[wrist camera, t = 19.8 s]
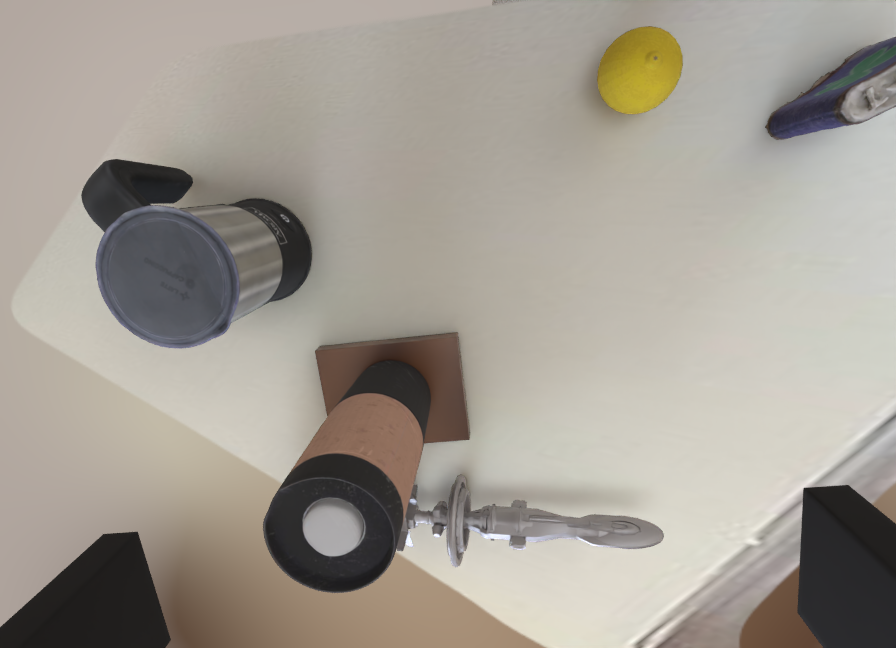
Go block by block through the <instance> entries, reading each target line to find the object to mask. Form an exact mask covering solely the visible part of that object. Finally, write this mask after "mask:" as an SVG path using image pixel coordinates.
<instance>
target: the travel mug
mask: <svg viewBox="0 0 896 648" xmlns="http://www.w3.org/2000/svg"><path fill="white" fill-rule="evenodd" d="M430 405H431V393H430V389H429V386H428V383H427V381H426V380H425V378H424V377H423V375H422V374H421V373H420V372H419V371H418V370H417V369H415V368H414V367H412V366H411V365H409V364H407V363H404V362H401V361H396V360H387V361H381V362H378V363H375V364H373V365H371V366H370V367H368V368H367V369H366V370H365V371H364V372H363V373H362V374H361V375H360V376H359V377H358V378H357V380H356V381H355V382H354V383H353V385H352V386H351V387H350V388H349V390H348V391H347V392H346V393H345V395H344V396H343V397H342V398H341V400H340V401H339V402H338V403H337V405H336V406H335V407H334V409H333V410H332V411H331V412H330V414H329V415H328V417H327V418H326V420H325V421H324V423H323V424H322V426H321V427H320V429H319V430H318V432H317V433H316V435H315V436H314V438H313V439H312V441H311V442H310V444H309V445H308V447H307V448H306V450H305V451H304V452H303V454H302V455H301V457H300V458H299V460H298V461H297V463H296V464H295V466H294V467H293V469H292V470H291V472H290V473H289V475H288V476H287V478H286V479H285V481H284V482H283V484H282V485H281V487H280V488H279V490H278V491H277V493H276V494H275V496H274V498H273V500H272V502H271V505H270V507H269V510H268V512H267V514H266V516H265V519H264V522H263V531H264V538H265V541H266V545H267V547H268V550H269V552H270V554H271V556H272V558H273V559H274V561H275V562H276V563H277V565H278V566H279V567H280V568H281V569H282V570H283V571H284V572H285V573H286V574H287V575H288V576H289V577H291V578H292V579H294V580H295V581H297V582H299V583H300V584H302V585H304V586H307V587H309V588H312V589H315V590H318V591H323V592H331V593H344V592H351V591H355V590H358V589H361V588H363V587H366V586H368V585H369V584H371V583H373V582H374V581H376V580H377V579H378V578H379V577H380V576H381V575H382V574H383V573H384V572H385V571H386V570H387V568H388V567H389V565H390V563H391V561H392V559H393V557H394V554H395V551H396V548H397V545H398V541H399V537H400V533H401V530H402V526H403V522H404V518H405V515H406V511H407V507H408V503H409V500H410V496H411V492H412V488H413V484H414V481H415V477H416V473H417V469H418V466H419V462H420V458H421V454H422V450H423V445H424V439H425V433H426V428H427V422H428V417H429V411H430Z"/></svg>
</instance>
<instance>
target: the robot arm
mask: <svg viewBox="0 0 896 648" xmlns="http://www.w3.org/2000/svg"><path fill="white" fill-rule="evenodd" d="M798 614H799V615H800V617H801V618H802V619H803V621H804V622H805V623H806V625H807V626H808V627H809V629H810V630H811V631H812V633H813V634H814V636H815V637H816V638H817V639H818V641H819V642H820V644H821V645H822V646H823V648H896V524H895V523H894V522H893V521H892V520H890V519H889V518H888V517H887V516H885V515H884V514H883V513H882V512H880V511H879V510H878V509H877V508H875V507H874V506H873V505H872V504H871V503H869V502H868V501H867V500H866V499H865V498H863V497H862V496H861V495H860V494H858V493H857V492H856V491H855V490H853V489H852V488H851V487H850V486H849V485H842V486H827V487H812V488H804V490H803V511H802V531H801V552H800V572H799V594H798ZM170 640H171V639H170V636H169V633H168V630H167V626H166V623H165V620H164V616H163V613H162V610H161V606H160V604H159V600H158V597H157V593H156V591H155V587H154V584H153V580H152V577H151V574H150V571H149V567H148V564H147V561H146V558H145V554H144V551H143V548H142V545H141V541H140V538H139V535H138V532H129V533H113V534H103V535H102V536H101V537H100V538H99V539H98V540H97V541H95V542H94V543H93V544H92V545H91V546H90V547H89V548H88V549H87V550H86V551H84V552H83V553H82V554H81V555H80V556H79V557H78V558H77V559H76V560H74V561H73V562H72V563H71V564H70V565H69V566H68V567H67V568H66V569H64V571H62V572H61V573H60V574H59V575H58V576H57V577H56V578H55V579H53V580H52V581H51V582H50V583H49V584H48V585H47V586H46V587H44V588H43V589H42V590H41V591H40V592H39V593H38V594H37V595H36V596H34V598H32V599H31V600H30V601H29V602H28V603H27V604H26V605H25V606H23V607H22V609H20V610H19V611H18V612H17V613H16V614H15V615H13V616H12V617H11V618H10V619H9V620H8V621H7V622H6V623H5V624H3V625H2V626H1V627H0V648H165V647H166V646H167V645H168V643H169V641H170Z"/></svg>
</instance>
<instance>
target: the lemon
mask: <svg viewBox="0 0 896 648" xmlns="http://www.w3.org/2000/svg"><path fill="white" fill-rule="evenodd" d="M682 66H683V62H682V52H681V49H680V46H679V44H678V43H677V41H676V39H675V38H674V37H673V36H672V35H671V34H670V33H669V32H667V31H665V30H663V29H661V28H656V27H651V26H649V27H639V28H636V29H633V30H630V31H628V32H626V33H624V34H623V35H621V36H620V37H619V38H617V39H616V40H615V41H614V42H613V43H612V44H611V45H610V46H609V47H608V49H607V50H606V52H605V54H604V55H603V57H602V59H601V62H600V65H599V69H598V77H597V82H598V88H599V92H600V94H601V96H602V98H603V100H604V101H605V102H606V103H607V104H608V106H610V107H611V108H613V109H614V110H616V111H618V112H621V113H624V114H638V113H643V112H647V111H649V110H651V109H653V108H655V107H657V106H658V105H659V104H661V103H662V102H663V101H664V100H665V99H667V98H668V96H669V95H670V94H671V92H672V91H673V90H674V88H675V87H676V85H677V82H678V80H679V78H680V75H681V70H682Z"/></svg>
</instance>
